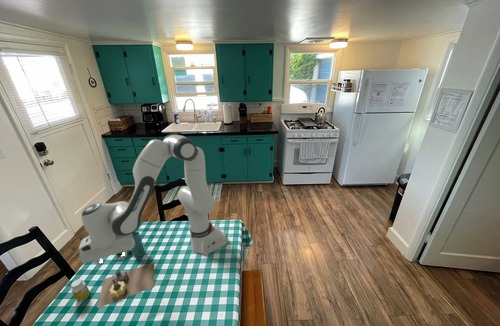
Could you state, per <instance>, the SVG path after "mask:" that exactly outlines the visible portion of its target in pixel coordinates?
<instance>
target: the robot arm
mask: <svg viewBox="0 0 500 326" xmlns="http://www.w3.org/2000/svg"><path fill="white" fill-rule="evenodd" d="M171 157H173V158H176V159H178V160H181V161H183V163H184V164H183V165H184V166H183V168H184V181H185V182H184V183H186V185H185V186H182V187H180V189H179V190H178V192H177V199H178V200H179V202H180V203H181V205H182V206H183V209H184V212H185V213H186V215H187V218H188V222H189V233H190V237H191V242H190V243H191V244H190V249H191V251H192V252H194V253H196V254H201V255H202V256H208V255H209V254H211V253H213V252H215V251H216V250H218V249H221V248H222V247H224V246H226V245H228V244H227V243H228V239H227V236H226V234H225V232H223V230H221V229H220V228H219V227H218V226H216V225H215V226H214V225H213V223H212V222H211V221H210V220H209V214H210V213H211V212H212V211H213V210H214V209H215V207H216V200H215V198H214V197H213V196H212V194H211V192H210V189H209V187H208V182H207V175H206V173H207V172H206V160H205V159H206V158H205V153H204V151H203V149H202V148H201V147H198V146H197V145H196V144H195V143H194V141H193V140H192V139H191V138H188V137H186V136H184V135H179V134H176V133H170V134H168V135H166V136H164V137H163V138H162V139H152V140H150V141H149V142H148V143H147V144H146V146H145V147H144V148H143V149H142V150H141V152H140V153H139V155H138V157H137V158H136V161H135V163H134V165H133V168H132V175H133V179H134V191H133V193H132V195H131V198H130V200H129V202H128V201H125V200H118V201H116V202H112V203H102V202H95V203H91V204H90V205H88V206H87V207H85V208H84V209H83V210H82V212H81V222H82V224H83V226H84V229H85V231H86V232H87V233H88V236H86V237H84V238H83V239H82V240H81V241H80V243H79V246H78V251H79V255H78V256H79V259H80V260H81V263H83V264H87V263H90V262H94V263H96V264H98V266H103V265H104V264H105V261H104V258H107V257H109V256H113V255H116V254H117V253H119V252H123V251H124V253H122V255H121V257H122V258H123V259H125V258H127V257H128V251H129V250H131V249H132V248H134V246H135V241H134V239H133V235H132V233H133V232H135V231H137V230H138V229H139V228H140V226H141V224H142V223H141V222H142V215H143V212H144V209H146V205H147V203H148V201H149V200H150V199H149V198H150V197H151V194H152V192H153V189H154V187H155V184H156V181H157V178H158V177H159V174H160V172H161V170H162V169H163V167H164V165H165V163H166V162H167V160H168V159H169V158H171Z"/></svg>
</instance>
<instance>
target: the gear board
mask: <svg viewBox="0 0 500 326" xmlns="http://www.w3.org/2000/svg"><path fill="white" fill-rule="evenodd" d="M122 281H123V282H124V283H125V285H126V290H125V293H124V294H122V295H120V296H119V297H114V298H113V297H112V296H111V294H110V292H109V290H110V289H111V287H112V285H113V284H114V288H115V290H118V289H119V288H120V286H119V283H118V282H122ZM152 288H155V262H151V263H148V264H145V265H142V266H139V267H136V268H133V269H130V270H128V271H127V270H124V269H121V270H117V271H116V272H115V273H114V274H112V276H110V277H106V278H103V282H102V286H101V290H100V294H99V299H98V303H97V309H100V308H102V307H104V306H107V305H108V306H109V305H110V304H113V303H115V302H119V301H122V300H123V299H126V298H129V297H131V296H134V295H136V294H139V293H142V292H145V291H147V290H149V289H152Z"/></svg>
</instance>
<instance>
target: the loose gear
mask: <svg viewBox="0 0 500 326" xmlns="http://www.w3.org/2000/svg"><path fill="white" fill-rule="evenodd" d="M118 283H119V286H120V288H119V289H118V290H115V288H114V284H113V285H112V287H111V289H110V290H109V292H110V294H111V296H112V297H113V298H114V297H119V296H120V295H122V294H124V293H125V290H126V285H125V283H124V282H123V281H122V282H118Z"/></svg>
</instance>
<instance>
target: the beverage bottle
mask: <svg viewBox="0 0 500 326" xmlns="http://www.w3.org/2000/svg"><path fill="white" fill-rule="evenodd" d="M132 235H133V239H134V241H135V246H134V248H132V249H130V250H131V253H132V255H133V257H134V258H140V257H142V256H144V254H145V251H146V249H145V246H144V244H143V243H144V242H143V240H142V236H141V234H140V232H139V230H138V231H137V230H136V231H135V232H133V233H132Z"/></svg>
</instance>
